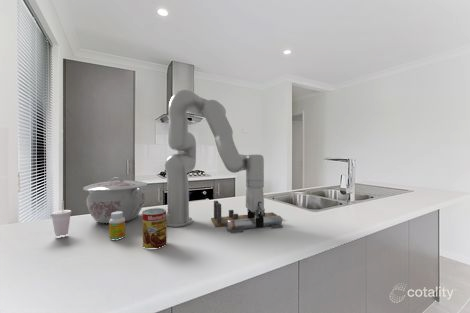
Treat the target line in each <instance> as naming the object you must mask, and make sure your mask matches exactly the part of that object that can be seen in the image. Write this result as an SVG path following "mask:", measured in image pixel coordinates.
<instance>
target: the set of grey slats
mask: <svg viewBox="0 0 470 313" xmlns="http://www.w3.org/2000/svg"><path fill="white" fill-rule="evenodd" d="M270 227H271V229H281V228H283V227H284V225H283V224H281V225H275V226H270ZM243 232H244V229H238V230H230V234H236V233H243Z"/></svg>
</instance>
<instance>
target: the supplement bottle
mask: <svg viewBox="0 0 470 313" xmlns="http://www.w3.org/2000/svg"><path fill="white" fill-rule="evenodd" d="M122 216H123V212H121V211H117V212H113V213H111V217H112V218H111V219H110V220H109V224H108V229H109V231H108V233H109V235H108V237H109V238H110V239H119V238H122V237H124V236H125V237H126V222H125V218H124V217H122ZM109 238H108V239H109ZM110 239H109V240H110Z"/></svg>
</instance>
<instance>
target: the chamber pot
mask: <svg viewBox="0 0 470 313" xmlns="http://www.w3.org/2000/svg"><path fill="white" fill-rule="evenodd" d="M147 185H148V183H147V182H143V181H141V180H140V181H139V180H129V179H127V180H123V179H122V178H121V177H119V176H118V177H117V176H114V177H113V178H111V180H109V181H102V182H96V183H92V184H89V185H86V186H84V187H82V190H83V191H87V192H88V195H87V197H86V206H87V210H88V212H89V214H90V216H91V217H92V218H93V219H94V220H95V221H96V222H97V223H99V224H104V223H106V224H105V225H108V224H107V223H109V220H110V219H111V218H112V217H111V213H113V212H117V211H121V212H123V216H122V217H124V218H125V221H127V222H129V221H132V220H133V219H135V218H137V217H138V216H139V214H140V212H141V211H142V210H143V207H144V204H145V201H146V193H145V191H144V190H143V188H145V187H146V186H147Z"/></svg>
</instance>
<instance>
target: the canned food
mask: <svg viewBox="0 0 470 313" xmlns="http://www.w3.org/2000/svg"><path fill="white" fill-rule="evenodd" d="M141 213H142V214H141V215H142V220H141V221H142V227H141V228H142V248H143V247H145V248H159V247H162V246H164V245H166V246H167V244H166V243H167V238H168V236H167V226H166V214H167V209H166V208H159V207H158V208H157V207H156V208H149V209H145V210H143V211H142V212H141ZM164 247H165V246H164ZM162 248H163V247H162Z"/></svg>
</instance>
